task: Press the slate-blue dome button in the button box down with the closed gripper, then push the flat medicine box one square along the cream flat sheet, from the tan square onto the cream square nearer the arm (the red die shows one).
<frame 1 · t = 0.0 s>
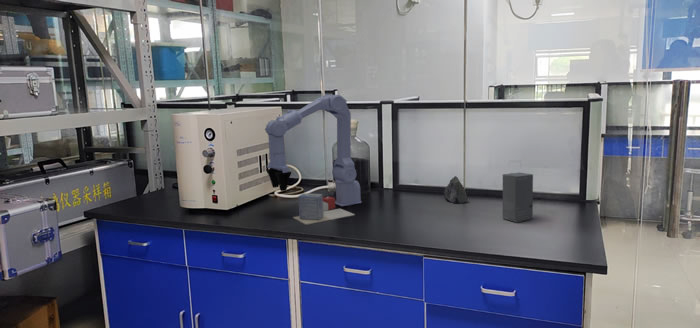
hand: (279, 188, 184), 10 cm above the worktop, tool pointing down, fingers open, 7 cm apart
medicine box: (311, 218, 179), resting on cream flat sheet
button box: (314, 210, 190), on the worktop
skincare box: (517, 219, 169), on the worktop
die: (328, 208, 193), on the worktop
mineral rock: (455, 200, 199), on the worktop
dome button: (313, 200, 190), point 4 cm above the worktop, slide at 0.0 cm
cream flat sheet: (324, 216, 181), on the worktop
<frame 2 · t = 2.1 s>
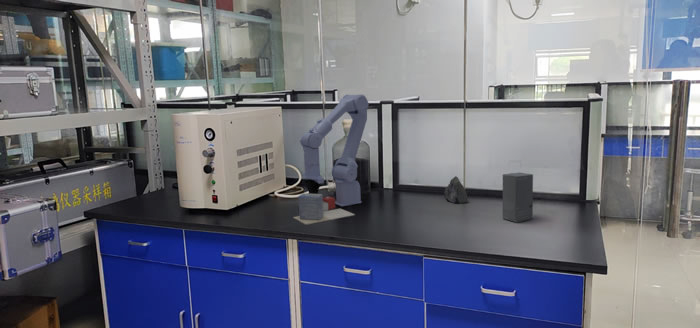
hand: (313, 198, 190), 5 cm above the worktop, tool pointing down, fingers closed, pressing on dome button
dome button: (314, 203, 190), point 3 cm above the worktop, slide at 1.3 cm, touching gripper
everything else where it was.
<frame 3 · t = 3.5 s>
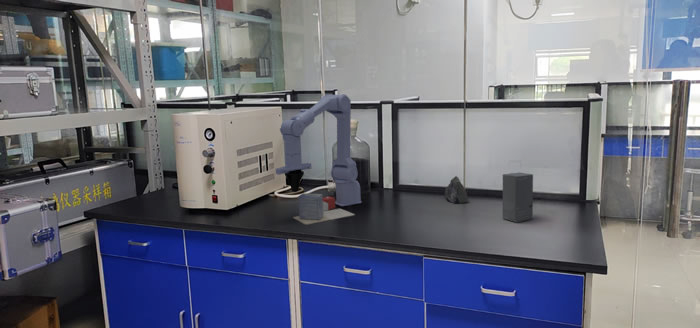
hand: (295, 191, 176), 11 cm above the worktop, tool pointing down, fingers closed
dome button: (314, 203, 190), point 3 cm above the worktop, slide at 1.3 cm
everything else where it was.
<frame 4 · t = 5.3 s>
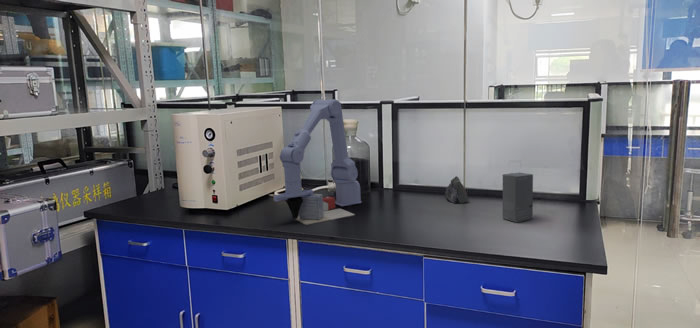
hand: (295, 218, 175), 1 cm above the worktop, tool pointing down, fingers closed
medicine box: (311, 218, 179), resting on cream flat sheet, touching gripper
everything else where it was.
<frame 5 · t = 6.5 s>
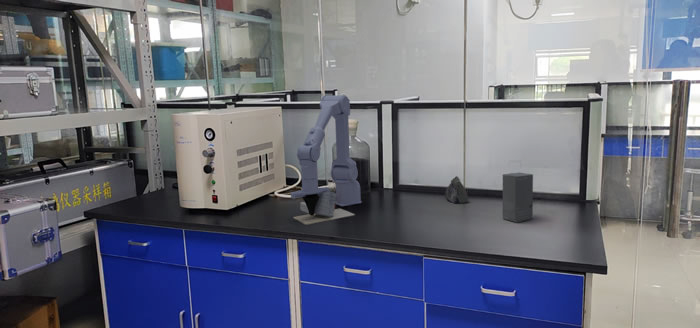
hand: (311, 215, 179), 2 cm above the worktop, tool pointing down, fingers closed
medicine box: (321, 215, 180), point 1 cm above the worktop, touching gripper, cream flat sheet
everything else where it was.
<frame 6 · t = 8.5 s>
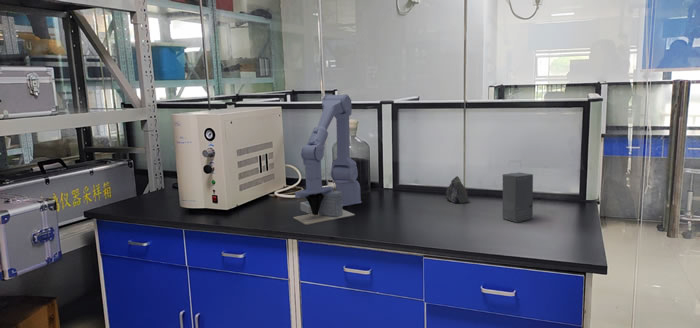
hand: (315, 214, 179), 1 cm above the worktop, tool pointing down, fingers closed
medicine box: (330, 215, 182), resting on cream flat sheet, touching gripper
everything else where it was.
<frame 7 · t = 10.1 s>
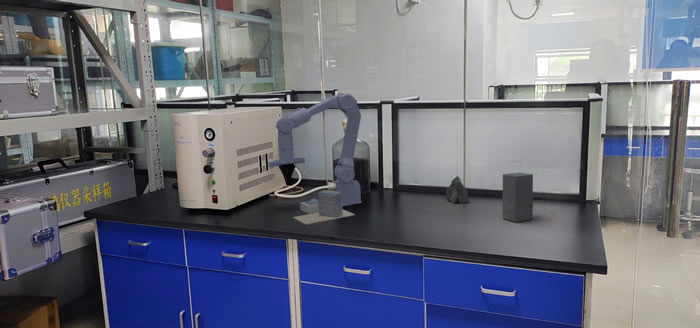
hand: (288, 183, 192), 10 cm above the worktop, tool pointing down, fingers closed
medicine box: (330, 215, 182), resting on cream flat sheet
everything else where it was.
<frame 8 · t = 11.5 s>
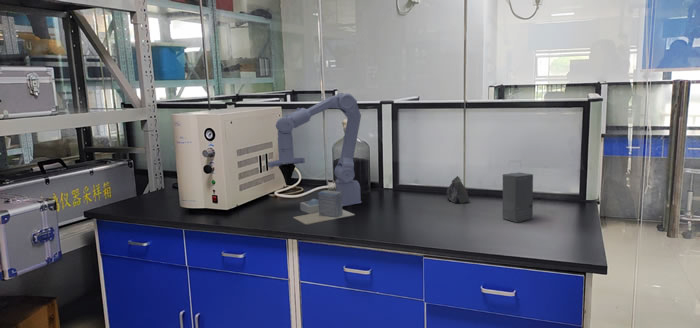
hand: (287, 183, 192), 10 cm above the worktop, tool pointing down, fingers closed
nothing on the worktop moved.
at the end: medicine box inside the target area (2.7 cm from its centre), resting on cream flat sheet; medicine box moved 7.6 cm from its start; dome button slide at 1.3 cm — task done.
